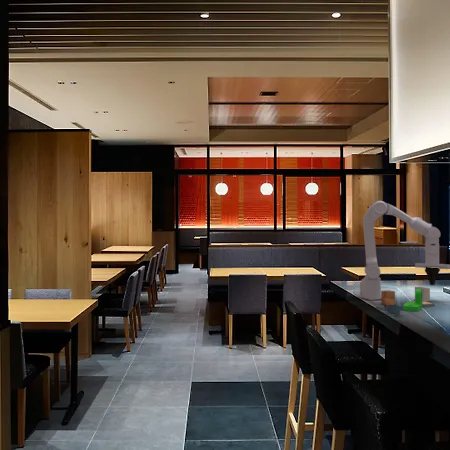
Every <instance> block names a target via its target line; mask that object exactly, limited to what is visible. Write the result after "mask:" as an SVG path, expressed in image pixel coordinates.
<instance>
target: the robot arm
mask: <svg viewBox="0 0 450 450" xmlns="http://www.w3.org/2000/svg"><path fill="white" fill-rule="evenodd" d="M384 215H387V216H388V215H389V216H394V217H396V218H397V219H399V220H401V221H403V222H404V223H406V224H407V225H408V227H409V229H411V230H413V231H414V232H416V233H418V234H420V235H421V236H423V237H424V238H425V244H424V247H425V250H424V252H425V253H424V257H425V260H424V261H425V262H424V263H423V262H416V263H414V264H415V265H414V267H415V268H419V269H420V268H421V269H424V272H425V274H426V276H427V279H428V282H429V285H430V286H435V285H436V281H437V277H438V275H439V273H440V271H441V270H450V264H445V263H440V243H439V242H440V239H439V238H441V231H440V230H439V229H438V228H437V227H436V226H433V224H432V223H428V222H426V221H425V220H423V217H418V216H414V217H412V216H410V215H408V214H407V213H406V212H404V211H402V210H400V209H399V208H398V207H396V206H394V205H392V204H390V203H387V202H385V201H382V200H377V201H375V202H374V203H373V204H371V205H370V206H368V209H367V210H366V212H365V214H364V215H363V218H362V227H363V228H362V229H363V236H364V237H363V239H364V249H365V251H364V252H365V266H364V274H365V276H364V277H363V278H362V279H360V282H359V296H358V298H360V299H365V300H368V301H371V300H373V301H374V300H381V291H382V289H381V288H382V286H381V285H382V284H381V283H382V282H381V281H382V280H381V277H380V276H381V269H380V267H379V264H378V259H377V248H376V247H377V246H376V238H375V237H376V236H375V226H374V223H375V222H376V220H377V219H379V217H382V216H384Z"/></svg>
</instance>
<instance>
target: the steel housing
mask: <svg viewBox="0 0 450 450" xmlns="http://www.w3.org/2000/svg"><path fill="white" fill-rule="evenodd" d="M416 289H422V301H423V302H429V303H432V301H431V288H430V287H425V286H414V292H415V291H416ZM413 302H415V299H413Z"/></svg>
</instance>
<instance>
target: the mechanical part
mask: <svg viewBox="0 0 450 450" xmlns="http://www.w3.org/2000/svg"><path fill="white" fill-rule="evenodd" d="M414 300H415V301H407V302H405V303H404V304H403V306H402V308H403V309H402V310H404V311H407V312H419V311H420V310H421V309H422V308H424V307H423V303H422V289H416V291H415V290H414Z"/></svg>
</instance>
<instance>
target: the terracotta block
mask: <svg viewBox="0 0 450 450" xmlns="http://www.w3.org/2000/svg"><path fill="white" fill-rule="evenodd" d="M380 305H384V306H387V307H388V306H395V305H396V291H395V290H389V289H387V290H381V299H380Z"/></svg>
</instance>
